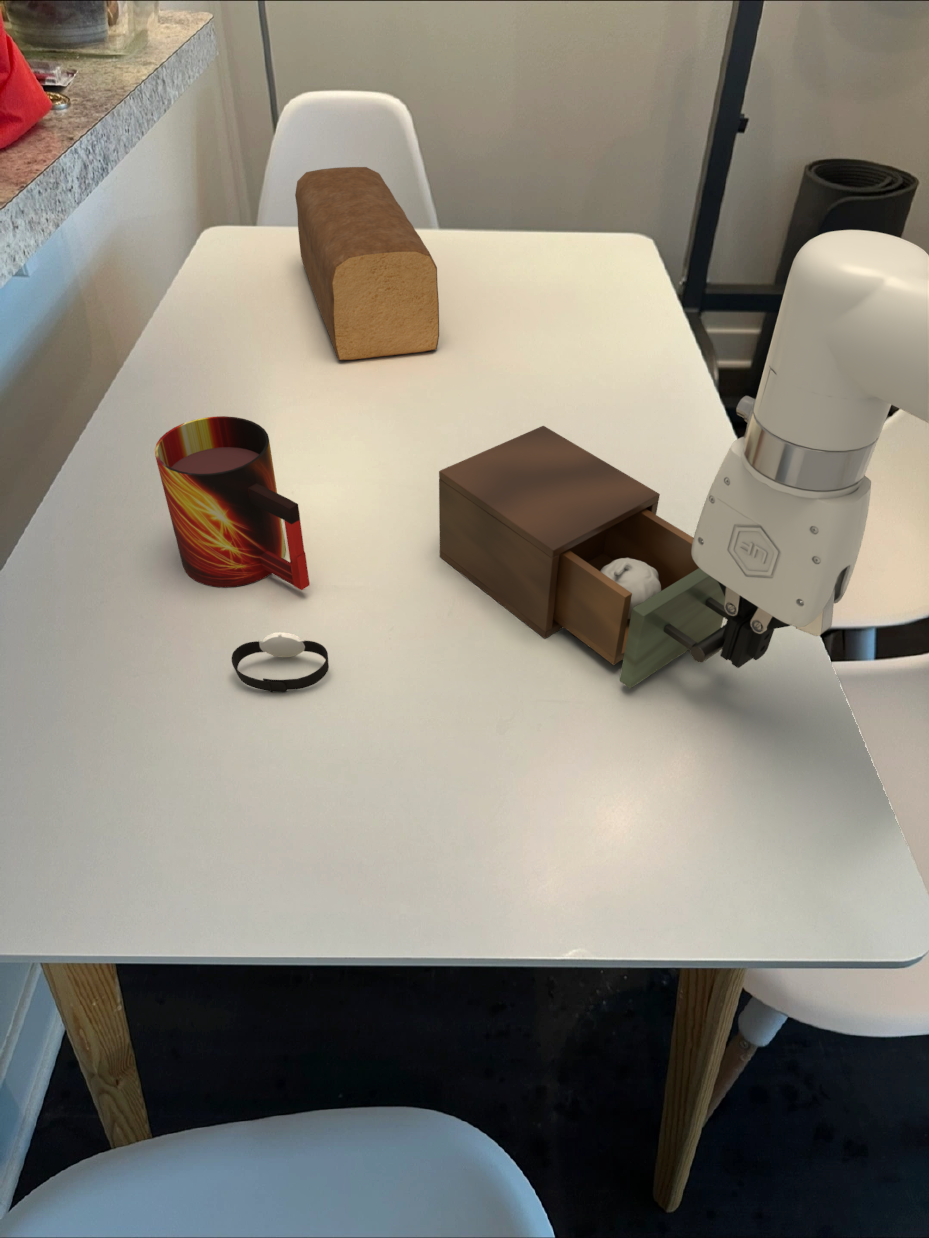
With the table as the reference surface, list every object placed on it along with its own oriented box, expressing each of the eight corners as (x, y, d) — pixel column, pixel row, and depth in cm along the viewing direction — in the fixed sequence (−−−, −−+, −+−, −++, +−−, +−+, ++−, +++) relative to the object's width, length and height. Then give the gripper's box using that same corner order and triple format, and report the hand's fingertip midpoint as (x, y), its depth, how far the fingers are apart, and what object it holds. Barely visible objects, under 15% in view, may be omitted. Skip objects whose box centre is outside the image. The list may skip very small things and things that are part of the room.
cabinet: (644, 580, 84) (660, 493, 78) (544, 639, 78) (553, 550, 72) (536, 508, 93) (543, 425, 86) (439, 556, 87) (438, 470, 80)
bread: (335, 365, 115) (324, 251, 106) (299, 265, 140) (288, 165, 130) (442, 353, 118) (441, 241, 108) (389, 257, 142) (385, 158, 133)
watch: (332, 654, 77) (328, 622, 74) (328, 695, 73) (323, 663, 71) (239, 655, 76) (233, 623, 74) (231, 697, 73) (223, 664, 70)
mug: (307, 601, 82) (292, 489, 74) (164, 579, 84) (134, 467, 76) (341, 537, 89) (330, 428, 81) (207, 518, 91) (184, 410, 83)
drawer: (761, 655, 76) (784, 583, 71) (670, 720, 70) (687, 647, 65) (607, 552, 86) (617, 482, 81) (516, 602, 80) (521, 531, 75)
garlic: (602, 636, 76) (609, 588, 72) (579, 595, 80) (585, 547, 76) (668, 623, 77) (679, 575, 73) (642, 583, 81) (651, 536, 77)
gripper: (676, 415, 59) (634, 622, 72) (881, 524, 51) (794, 737, 63) (748, 381, 63) (696, 584, 75) (950, 478, 55) (855, 688, 67)
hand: (741, 654), depth 69 cm, fingers closed
